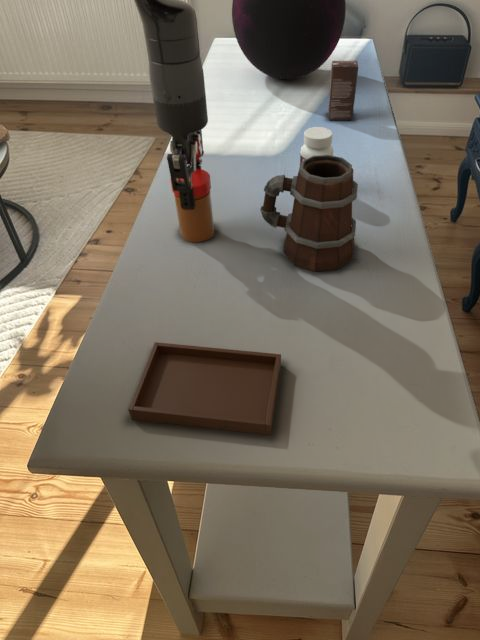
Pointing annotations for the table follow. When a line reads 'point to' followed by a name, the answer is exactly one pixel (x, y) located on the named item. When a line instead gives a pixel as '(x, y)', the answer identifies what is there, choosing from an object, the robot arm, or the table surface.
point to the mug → (316, 212)
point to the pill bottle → (316, 143)
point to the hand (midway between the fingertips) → (192, 196)
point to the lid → (198, 183)
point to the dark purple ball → (288, 34)
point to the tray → (208, 388)
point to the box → (342, 90)
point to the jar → (196, 219)
